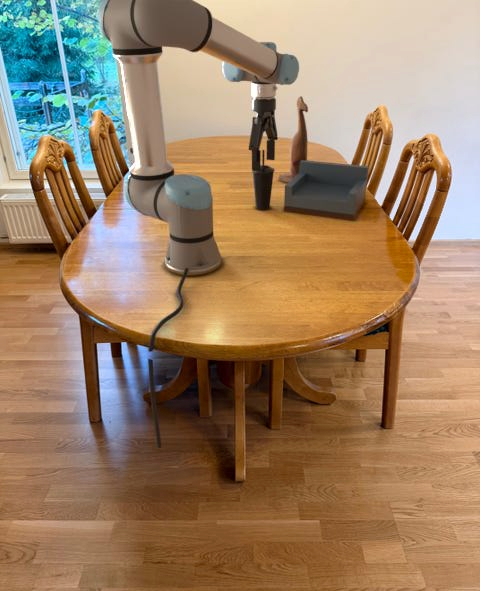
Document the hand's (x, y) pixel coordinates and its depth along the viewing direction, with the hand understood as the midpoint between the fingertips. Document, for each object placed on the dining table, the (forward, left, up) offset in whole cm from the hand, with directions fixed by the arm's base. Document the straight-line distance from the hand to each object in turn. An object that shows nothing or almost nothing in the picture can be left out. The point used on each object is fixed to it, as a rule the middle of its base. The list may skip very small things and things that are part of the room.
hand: (263, 165), depth 164 cm
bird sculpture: (+34, -2, -15) cm, 37 cm away
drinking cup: (0, 0, -15) cm, 15 cm away
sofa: (+9, -20, -15) cm, 27 cm away
